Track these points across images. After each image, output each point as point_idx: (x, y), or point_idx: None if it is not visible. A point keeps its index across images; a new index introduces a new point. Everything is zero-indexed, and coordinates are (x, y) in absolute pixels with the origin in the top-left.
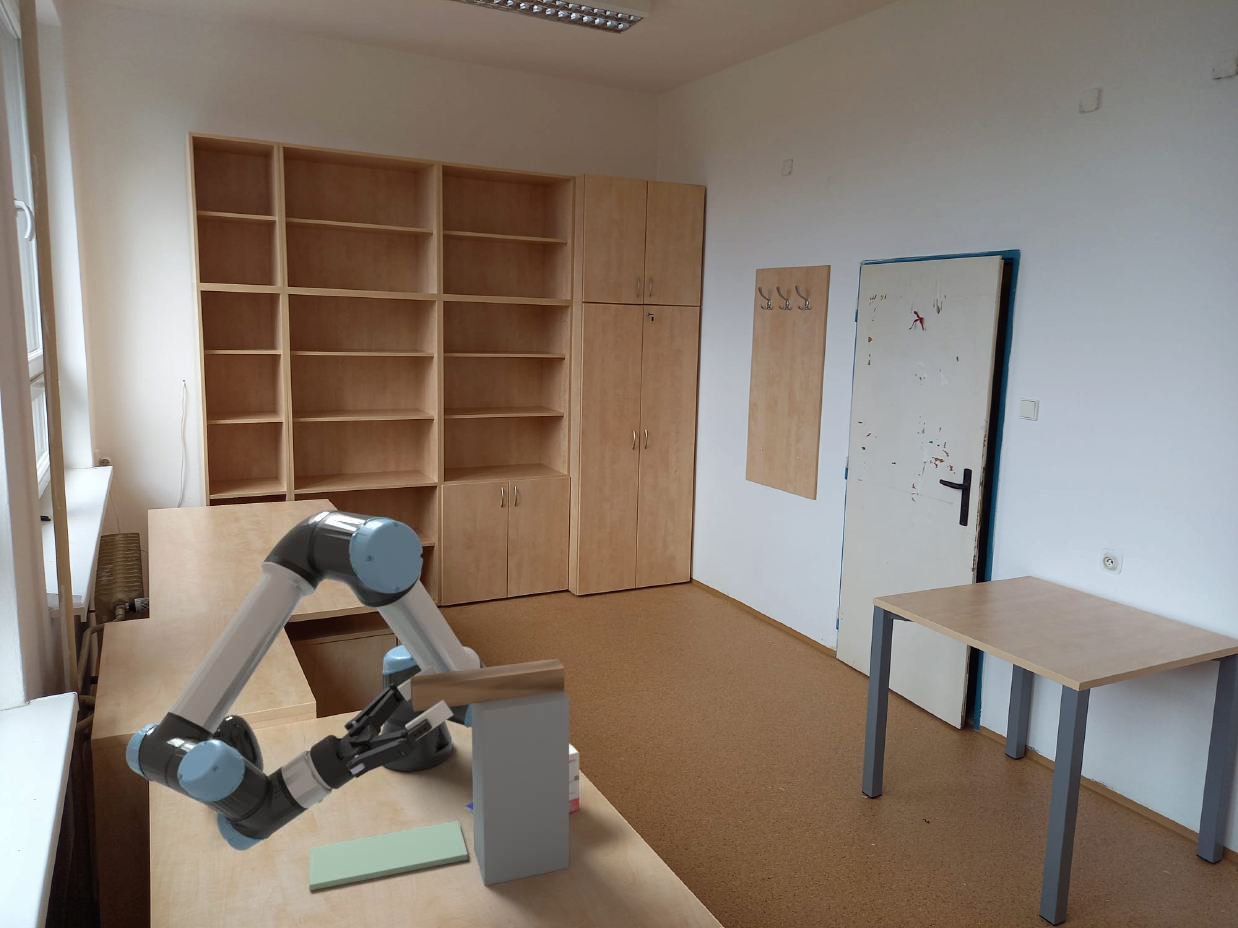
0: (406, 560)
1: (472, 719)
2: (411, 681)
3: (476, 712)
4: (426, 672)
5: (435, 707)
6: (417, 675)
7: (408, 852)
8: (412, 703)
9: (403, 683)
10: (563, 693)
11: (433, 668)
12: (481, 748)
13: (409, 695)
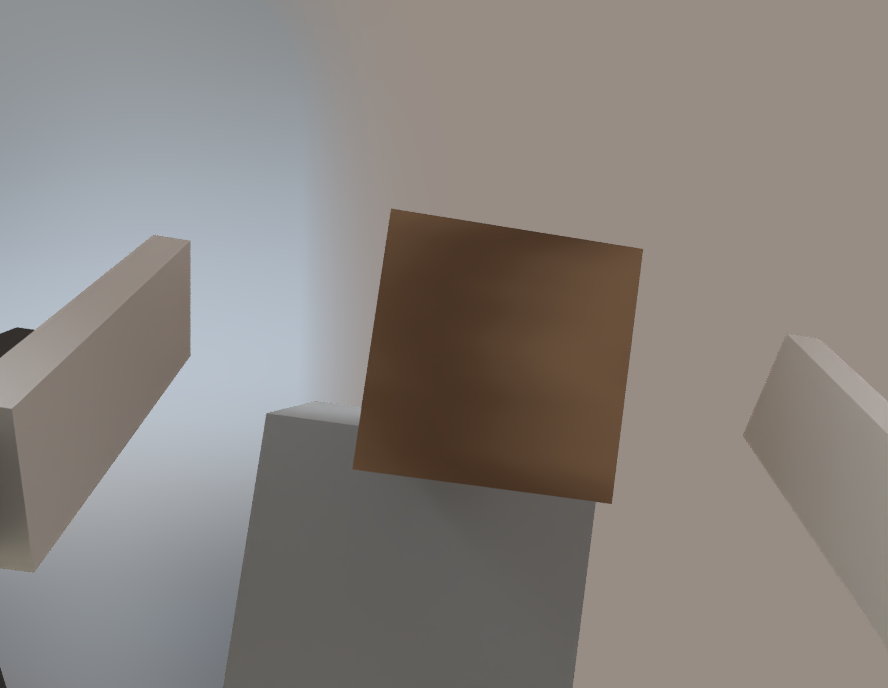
0: None
1: (262, 620)
2: (503, 228)
3: (417, 527)
4: (168, 284)
5: (851, 372)
6: (131, 293)
7: None
8: (507, 452)
9: (14, 361)
10: None
11: (189, 267)
12: (536, 685)
13: (60, 501)
